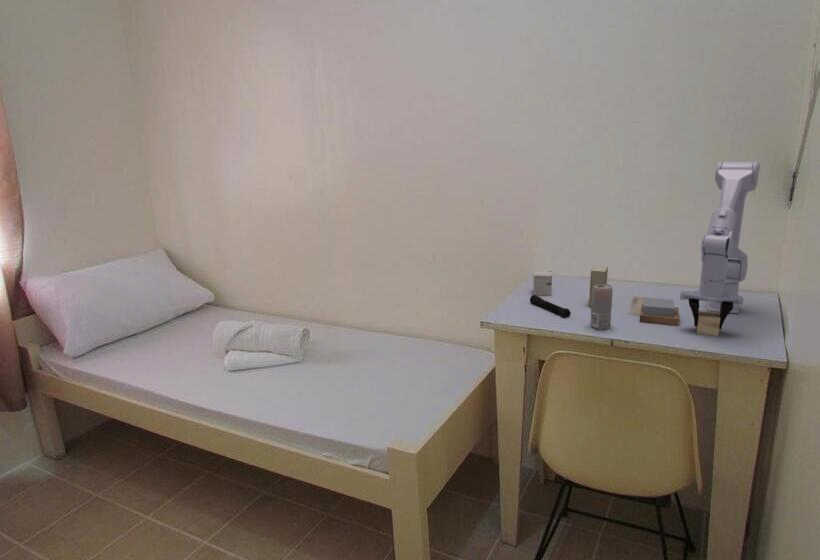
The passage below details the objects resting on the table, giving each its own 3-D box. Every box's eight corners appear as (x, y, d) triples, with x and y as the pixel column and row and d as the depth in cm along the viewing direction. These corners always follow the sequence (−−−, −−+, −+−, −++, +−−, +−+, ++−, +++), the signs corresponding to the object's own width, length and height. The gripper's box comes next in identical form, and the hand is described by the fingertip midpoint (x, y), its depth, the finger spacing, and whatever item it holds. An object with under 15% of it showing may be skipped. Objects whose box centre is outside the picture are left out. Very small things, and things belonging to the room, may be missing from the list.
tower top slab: (643, 305, 158) (643, 297, 157) (672, 307, 155) (673, 299, 154) (642, 314, 151) (643, 306, 150) (673, 316, 148) (674, 308, 147)
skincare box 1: (532, 295, 179) (533, 274, 177) (534, 290, 185) (534, 270, 183) (551, 296, 177) (551, 275, 175) (551, 290, 183) (552, 270, 181)
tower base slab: (641, 311, 159) (641, 304, 159) (677, 315, 155) (678, 307, 154) (639, 323, 151) (640, 315, 150) (678, 327, 147) (678, 318, 146)
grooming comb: (630, 297, 173) (630, 294, 173) (663, 300, 168) (664, 298, 168) (620, 315, 158) (620, 312, 158) (656, 319, 153) (657, 317, 153)
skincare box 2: (592, 300, 170) (593, 265, 167) (606, 302, 168) (608, 266, 165) (588, 306, 165) (590, 270, 162) (603, 308, 163) (605, 271, 160)
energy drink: (605, 322, 152) (608, 283, 148) (613, 329, 147) (615, 288, 143) (587, 323, 152) (589, 284, 148) (594, 330, 147) (596, 289, 143)
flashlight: (537, 302, 172) (537, 294, 172) (571, 317, 158) (571, 308, 157) (529, 304, 171) (529, 295, 170) (563, 319, 157) (563, 310, 156)
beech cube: (696, 327, 145) (698, 310, 144) (716, 329, 143) (718, 312, 142) (696, 333, 141) (698, 316, 139) (718, 335, 139) (720, 318, 137)
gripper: (682, 280, 137) (677, 328, 141) (747, 285, 131) (740, 335, 135) (682, 273, 143) (677, 319, 147) (743, 277, 137) (737, 325, 141)
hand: (707, 326), depth 141 cm, fingers closed on beech cube, 5 cm apart
